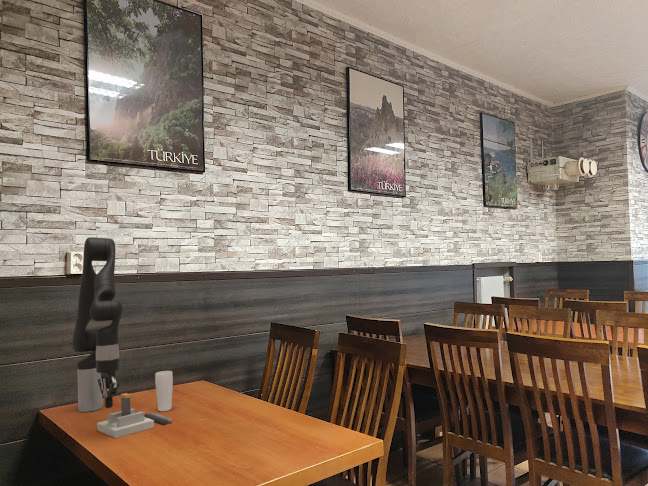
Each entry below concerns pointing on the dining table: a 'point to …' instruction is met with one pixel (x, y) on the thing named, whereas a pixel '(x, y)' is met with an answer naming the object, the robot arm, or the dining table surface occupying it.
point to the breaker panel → (125, 429)
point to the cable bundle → (158, 418)
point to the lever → (125, 404)
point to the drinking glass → (164, 390)
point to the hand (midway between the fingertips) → (108, 407)
